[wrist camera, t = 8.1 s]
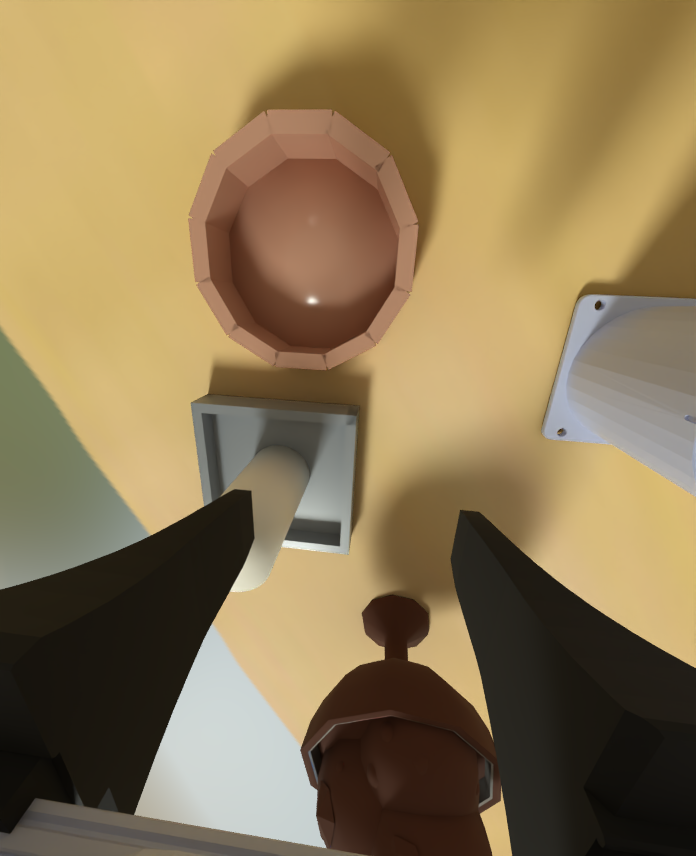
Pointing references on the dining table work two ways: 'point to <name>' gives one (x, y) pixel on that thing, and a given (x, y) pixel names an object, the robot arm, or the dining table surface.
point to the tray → (297, 429)
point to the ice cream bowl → (400, 752)
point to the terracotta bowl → (303, 238)
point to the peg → (270, 507)
